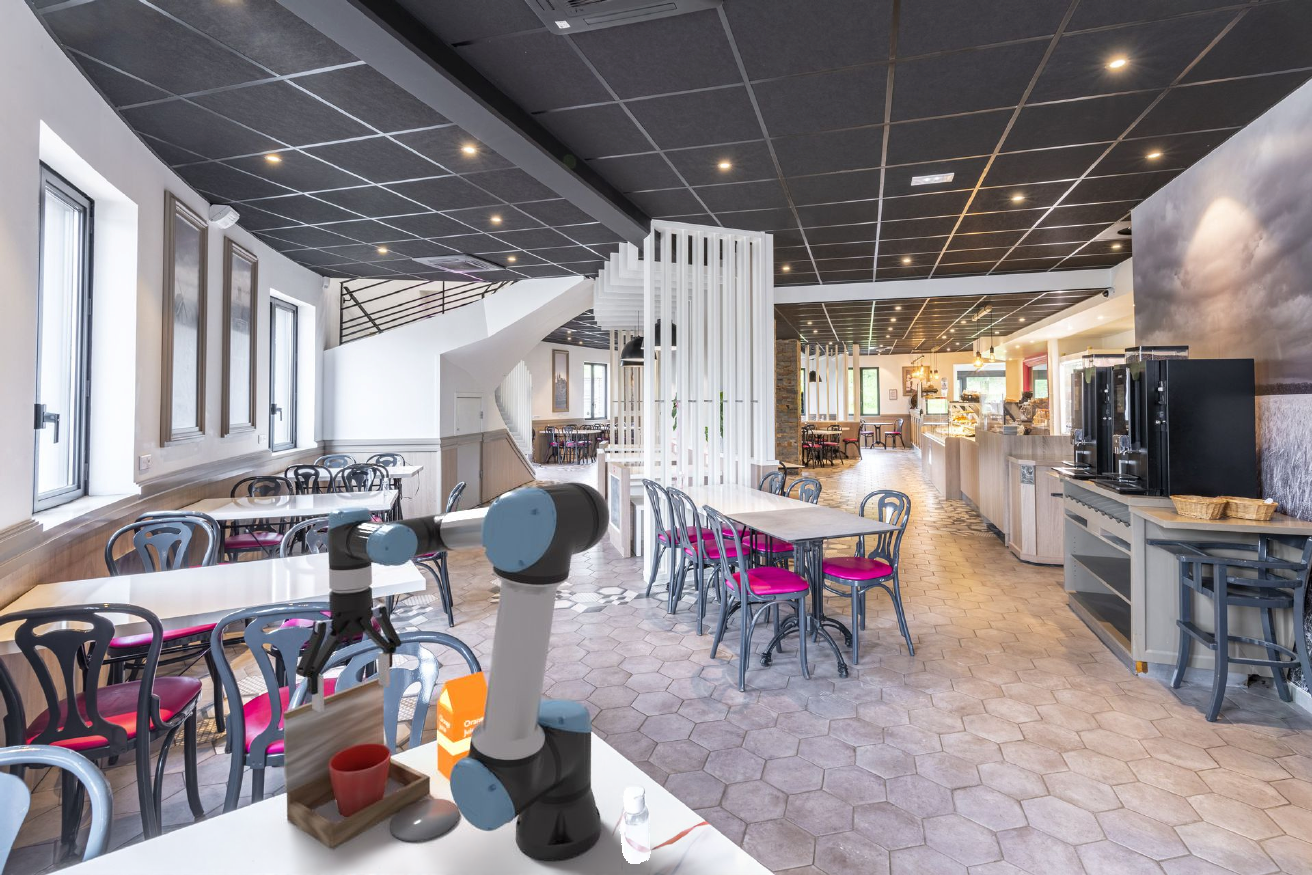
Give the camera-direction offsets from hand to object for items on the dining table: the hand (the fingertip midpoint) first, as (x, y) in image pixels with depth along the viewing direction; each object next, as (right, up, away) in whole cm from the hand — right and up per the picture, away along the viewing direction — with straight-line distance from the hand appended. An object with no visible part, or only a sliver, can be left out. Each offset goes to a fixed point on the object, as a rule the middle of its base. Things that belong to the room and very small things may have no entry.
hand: (352, 696), depth 127 cm
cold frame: (+1, -20, -1) cm, 20 cm away
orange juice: (+18, -20, +12) cm, 30 cm away
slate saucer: (+16, -21, -6) cm, 27 cm away
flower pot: (+2, -21, -2) cm, 21 cm away
